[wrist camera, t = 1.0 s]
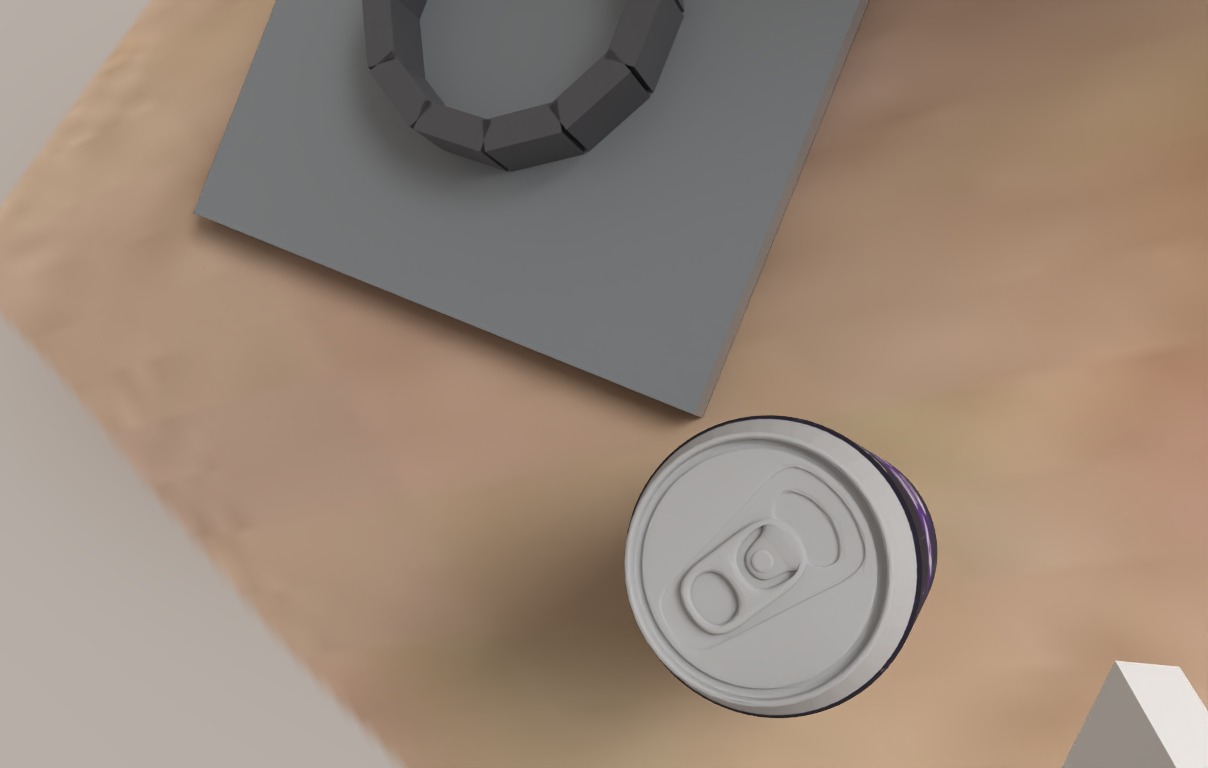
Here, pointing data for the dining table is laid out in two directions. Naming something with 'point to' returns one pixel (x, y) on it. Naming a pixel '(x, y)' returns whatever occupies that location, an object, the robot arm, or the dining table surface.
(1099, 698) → the robot arm
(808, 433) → the beverage can
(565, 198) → the ring socket
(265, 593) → the dining table surface
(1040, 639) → the dining table surface
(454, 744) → the dining table surface
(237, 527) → the dining table surface
